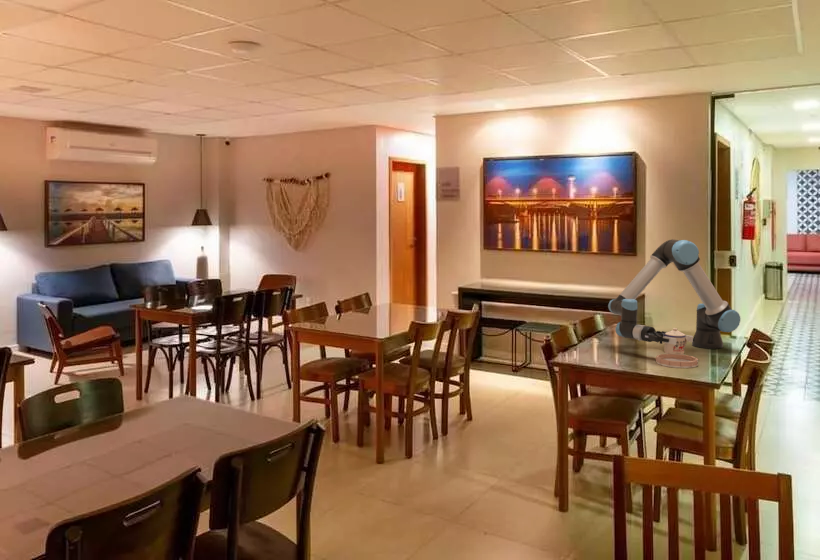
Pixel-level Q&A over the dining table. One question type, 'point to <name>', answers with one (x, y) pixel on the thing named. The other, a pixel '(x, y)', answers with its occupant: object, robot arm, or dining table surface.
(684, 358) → the round tray
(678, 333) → the teacup with lid
